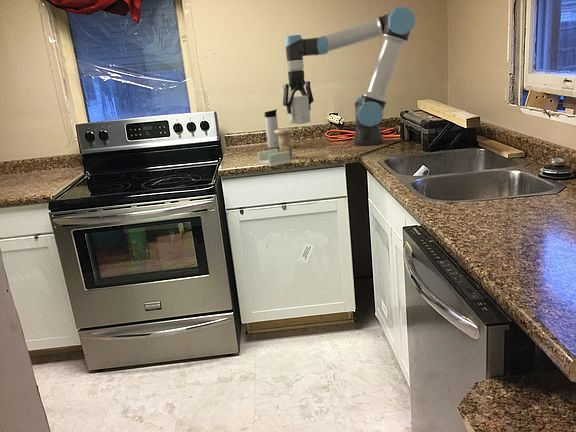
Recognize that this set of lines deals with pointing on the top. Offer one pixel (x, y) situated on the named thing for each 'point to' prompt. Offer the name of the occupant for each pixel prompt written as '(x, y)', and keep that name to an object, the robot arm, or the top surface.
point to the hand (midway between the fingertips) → (299, 119)
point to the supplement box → (300, 110)
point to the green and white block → (273, 157)
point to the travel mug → (271, 129)
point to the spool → (285, 141)
